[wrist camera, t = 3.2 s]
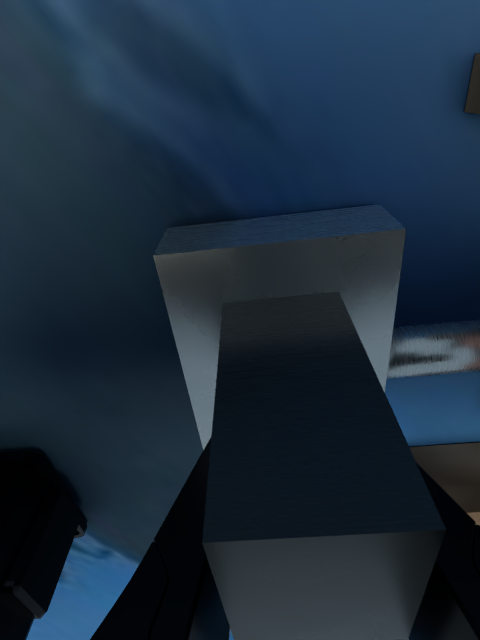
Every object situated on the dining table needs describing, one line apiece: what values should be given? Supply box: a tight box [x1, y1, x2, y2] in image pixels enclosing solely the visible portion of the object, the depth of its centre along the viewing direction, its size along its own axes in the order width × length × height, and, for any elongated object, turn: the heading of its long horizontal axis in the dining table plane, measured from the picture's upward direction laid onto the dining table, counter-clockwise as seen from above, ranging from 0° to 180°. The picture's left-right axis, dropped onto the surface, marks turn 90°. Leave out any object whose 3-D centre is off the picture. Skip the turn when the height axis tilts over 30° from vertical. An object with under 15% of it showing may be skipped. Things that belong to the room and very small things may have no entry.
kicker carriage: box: [153, 204, 480, 640], centre depth 9 cm, size 13×9×8 cm
